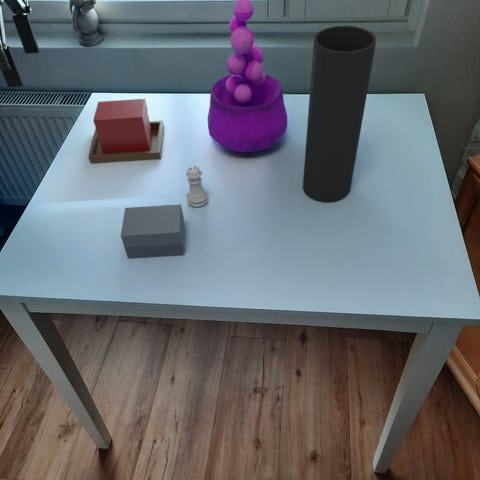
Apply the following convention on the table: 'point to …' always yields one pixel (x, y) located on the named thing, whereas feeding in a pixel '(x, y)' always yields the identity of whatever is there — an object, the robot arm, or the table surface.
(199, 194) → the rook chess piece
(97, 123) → the burgundy book
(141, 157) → the book tray
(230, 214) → the table surface
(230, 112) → the decorative plant
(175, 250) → the gray box
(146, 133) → the burgundy book
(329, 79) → the vase
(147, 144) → the burgundy book
